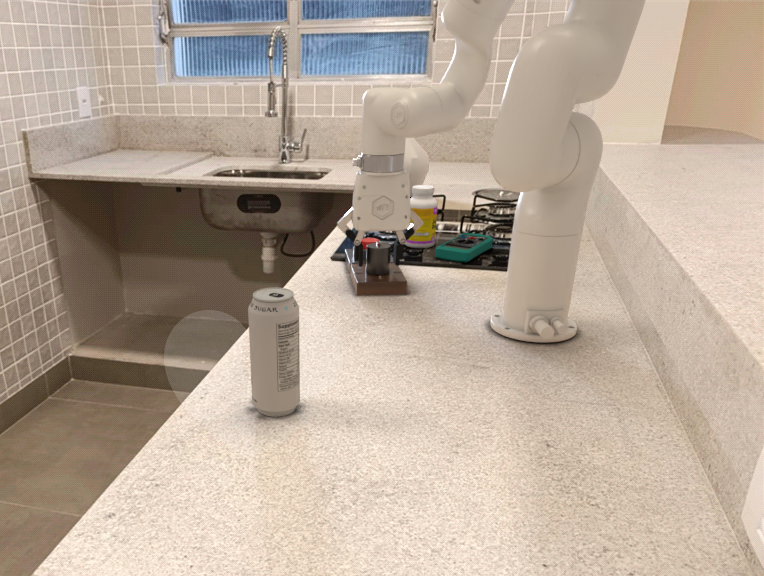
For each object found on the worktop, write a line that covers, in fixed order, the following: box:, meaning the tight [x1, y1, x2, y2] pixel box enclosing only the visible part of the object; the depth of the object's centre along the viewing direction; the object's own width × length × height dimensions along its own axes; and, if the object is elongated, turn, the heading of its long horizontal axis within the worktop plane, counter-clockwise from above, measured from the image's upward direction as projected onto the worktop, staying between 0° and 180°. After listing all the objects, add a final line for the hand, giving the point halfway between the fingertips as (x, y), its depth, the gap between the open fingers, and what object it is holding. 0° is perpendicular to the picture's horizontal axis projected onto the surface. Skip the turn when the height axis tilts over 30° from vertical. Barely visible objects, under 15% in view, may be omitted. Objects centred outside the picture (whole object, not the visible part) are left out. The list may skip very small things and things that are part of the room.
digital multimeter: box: [434, 232, 494, 264], centre depth 148 cm, size 7×15×3 cm, turn 142°
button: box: [362, 237, 380, 249], centre depth 141 cm, size 4×4×2 cm
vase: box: [402, 87, 430, 198], centre depth 200 cm, size 18×18×30 cm
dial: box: [366, 240, 392, 275], centre depth 129 cm, size 4×4×5 cm
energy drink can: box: [247, 286, 301, 418], centre depth 84 cm, size 6×6×15 cm
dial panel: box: [349, 263, 408, 297], centre depth 130 cm, size 12×9×3 cm
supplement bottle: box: [404, 184, 438, 249], centre depth 153 cm, size 7×7×13 cm
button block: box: [344, 245, 394, 275], centre depth 142 cm, size 11×9×4 cm
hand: (378, 263), depth 129 cm, fingers open, 6 cm apart
